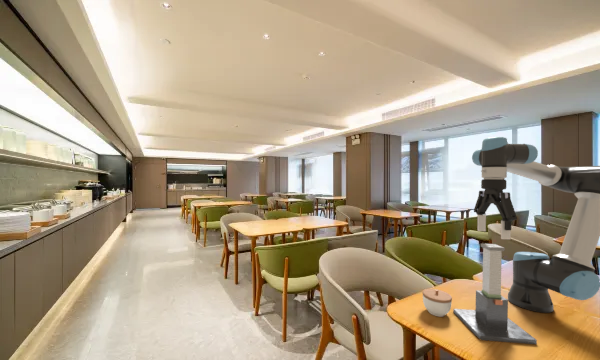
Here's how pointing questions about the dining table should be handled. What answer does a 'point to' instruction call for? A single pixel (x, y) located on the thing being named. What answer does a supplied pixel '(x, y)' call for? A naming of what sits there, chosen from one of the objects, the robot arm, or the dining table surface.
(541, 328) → the dining table surface
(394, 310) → the dining table surface
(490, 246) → the white square column
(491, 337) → the stand housing
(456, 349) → the dining table surface
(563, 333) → the dining table surface
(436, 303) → the lidded jar
